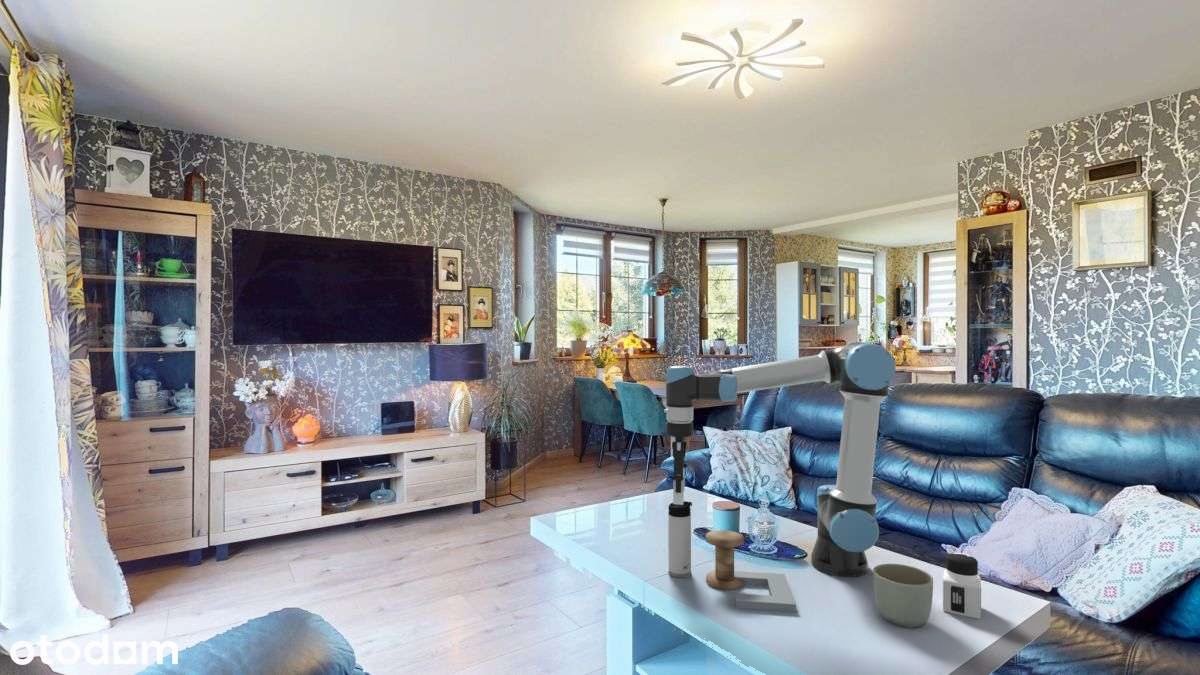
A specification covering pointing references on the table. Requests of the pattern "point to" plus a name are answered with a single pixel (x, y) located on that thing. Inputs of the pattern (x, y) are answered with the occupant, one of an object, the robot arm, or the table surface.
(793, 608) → the notched board
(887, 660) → the table surface
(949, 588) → the container
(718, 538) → the bobbin
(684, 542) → the travel mug
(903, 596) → the planter
